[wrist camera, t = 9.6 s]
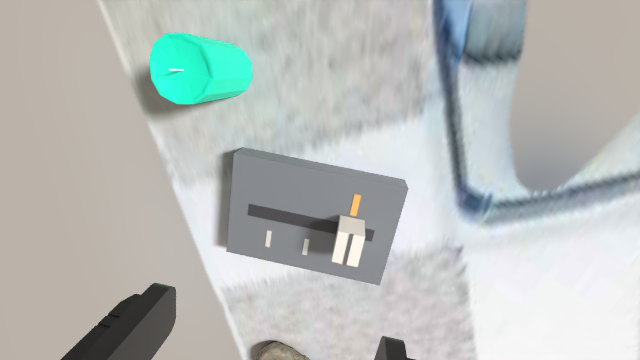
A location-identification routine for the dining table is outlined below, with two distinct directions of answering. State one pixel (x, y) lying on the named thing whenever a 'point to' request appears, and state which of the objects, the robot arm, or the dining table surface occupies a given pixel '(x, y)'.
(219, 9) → the dining table surface
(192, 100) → the candle
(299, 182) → the fader console
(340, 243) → the fader
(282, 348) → the long grey stone
